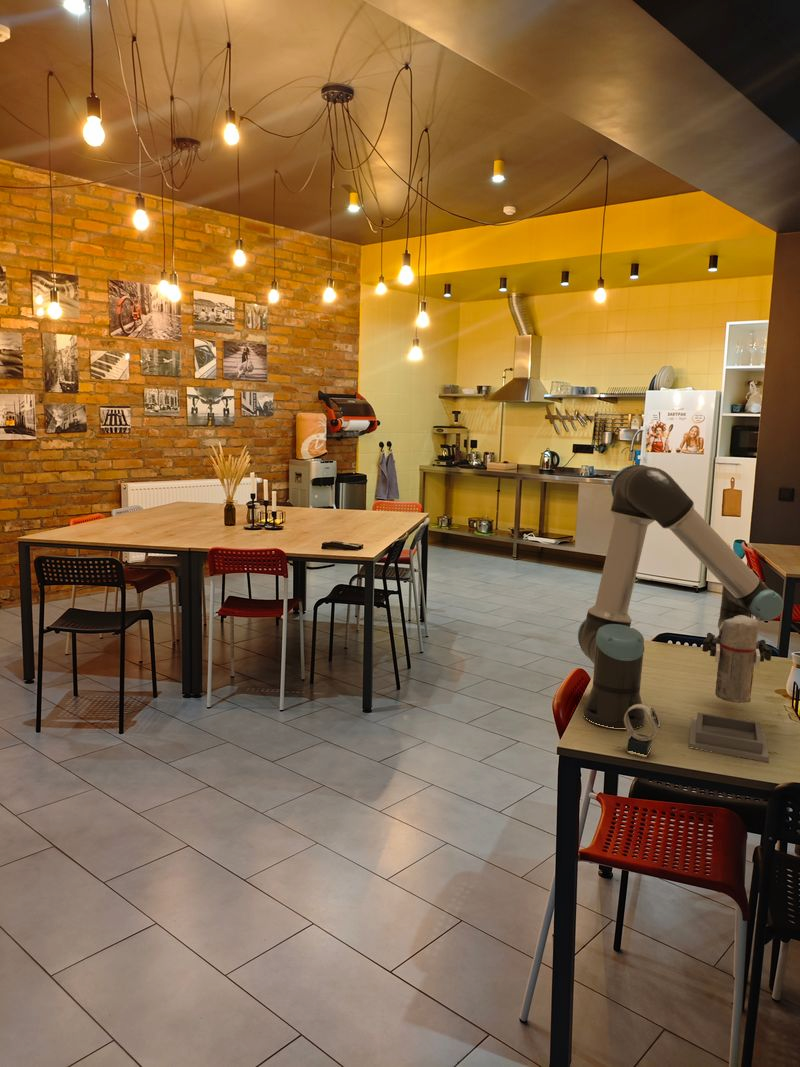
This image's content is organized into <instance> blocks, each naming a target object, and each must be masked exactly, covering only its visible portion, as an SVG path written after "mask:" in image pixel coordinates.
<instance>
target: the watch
mask: <svg viewBox="0 0 800 1067" xmlns="http://www.w3.org/2000/svg"><path fill="white" fill-rule="evenodd" d="M635 708H640V709H641V708H642V709H644V713H645V718H646V719H645V720H646V721H647V724H648V725H649V727H650V728H651V729H652V731H653V734H651V735H645V734H641V733H636V732H635V731H634V730H635V729H633V728H632V726H631V724H630V721H629V717H628V712H629V711H630V710H632V709H635ZM624 724H625V727H626V729H627V730H626V731H627V733H628V735H629V738H628V740H627V749H626V751H627V750H628V751H633V752H636V753H640V754H644V755H647V754H648V752H649V750H650V748H651V749H652V741H653V739H654V738H655V736H656V735H657V734H658V732H659V730H660V729H661V721H660V718H659V715H658V714H657V712H656V710H655V709H654V708H653V707H650V706H649V705H647V704H644V703H642V704H636V705H633V706H631V707H630V708H629V709H628V710H627V712H626V713H625V716H624ZM650 751H651V750H650ZM649 753H650V752H649ZM648 755H649V754H648Z"/></svg>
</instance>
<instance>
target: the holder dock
mask: <svg viewBox="0 0 800 1067" xmlns="http://www.w3.org/2000/svg"><path fill="white" fill-rule="evenodd" d="M689 731H690V733H689V741H688V742H689V744H688V748H689V747H693V748H698V749H703V750H707V751H706V752H708V751H712V752H711V753H713V752H716V753H715V754H719V753H722V754H721V755H724V754H727V755H726V756H730V755H732V756H731V757H736V756H737V758H741V757H743V758H742V759H747V758H748V759H749V760H752V759H754V761H757V762H763V763H769V760H770V757H769V756H770V755H769V749H768V744H767V739H766V737H767V736H766V731H765V730H762V725H761V722H759V721H754V720H748V719H742V718H736V717H730V716H723V715H717V714H712V713H711V714H710V713H705V712H700V711H698V712H697V716H696V719H694V718H691V720H690V730H689Z"/></svg>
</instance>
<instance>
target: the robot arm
mask: <svg viewBox="0 0 800 1067" xmlns="http://www.w3.org/2000/svg"><path fill="white" fill-rule="evenodd" d="M610 486H611V487H610V490H611V495H612V497H613V499H612V502H611V507H610V513H611V515H612V516H613V517H614V518H613V519H614V520H613V524H612V525H613V526H612V530H611V534H610V539H609V542H608V546H607V547H608V548H607V551H606V557H605V560H604V565H603V569H602V574H601V578H600V581H599V587H598V590H597V591H598V592H597V596H596V601H595V604H594V605H593V606H591V607H590V608H588V609H587V613H586V617H585V619H584V620H583V621H582V622H581V624H580V626H579V627H578V631H577V640H578V644H579V647H580V649H581V651H582V653H584V655H585V656H586V657H587V659H589V660H590V661H591V663H593V665H594V666H593V677H592V688H591V689H590V692H589V694H588V696H587V699H586V701H585V704H584V706H583V713H582V714H584V716H585V718H587V719H588V720H590V721H592V722H594V723H597V724H600V725H604V726H608V727H614V728H626V727H625V724H624V716H625V713H626V712H627V710H628V709H629V708H630V707H631V706H633V705H636V704H643V700H642V698H641V692H640V691H641V682H642V671H643V661H644V660H643V659H644V652H645V642H644V641H645V639H644V635H643V634H642V633H641V632H640V631H639V630H638V629H636V628H634V627H631V625H632V618H631V616H630V614H629V613H628V612H629V606H630V603H631V599H632V595H633V590H634V585H635V581H636V577H637V573H638V568H639V565H640V560H641V556H642V551H643V548H644V543H645V538H646V534H647V531H648V530H647V529H648V527H649V526H650V524H652V523H654V522H657V524H659V526H660V527H661V528H662V529H668V530H670V531H671V532H672V533H673V534H674V535H675V537H677V539H678V540H680V541H681V543H683V545H684V546H685V547H686V548H687V549H688V550H689V552H691V553H692V554H693V555H694V556H695V557H696V558H697V559H698V561H700V562H701V564H703V566H704V567H706V568H707V570H708V571H709V572H710V573H711V574H712V575H713V576H714V577H715V578H716V579H717V580H718V581H719V582H720V583H721V584H722V591H721V602H720V603H721V604H720V608H719V609H720V611H719V618H718V621H717V628H718V635H717V636H716V635H715V634H713V633H711V632H707V633H706V637H705V639H704V640H702V642H703V643H702V652H704V653H707V652H708V651H709V656H710V657H715V661H714V662H716V663H718V662H719V657H720V640H721V636H722V626H723V622H724V621H725V620H729V619H732V618H733V617H735V616H738V615H745V616H747V617H750V618H751V615H752V616H753V618H754V617H755V618H756V619H760V620H763V621H771V620H775V619H777V618H778V617H779V616H780V615H781V613H782V612H783V610H784V600H783V598H782V596H781V595H780V594H779V593H777V592H776V591H775V590H773V589H770V588H769V587H768V586H767V585H766V584H765V583H764V582H763V581H762V580H761V579H760V578H759V576H758V575H756V573H755V572H754V571H753V570H752V569H751V568H750V567H749V566H748V565H747V564H746V563H745V561H743V560H742V558H741V557H740V556H739V555H738V554H737V553H736V552H735V551H734V550H733V549H732V548H731V547H730V546H729V544H728V543H726V541H725V540H724V539H723V538H722V537H721V536H720V535H719V533H717V532H716V531H715V529H713V527H712V526H711V525H710V524H709V523H708V522H707V521H706V520H705V519H704V518H703V517H702V516H701V515H700V513H698V511H697V510H696V509H695V502H694V501H693V499H691V497H690V496H689V495H688V494H687V493H686V491H684V490H683V488H682V487H681V486H680V485H679V484H678V483H677V481H675V479H673V477H672V476H671V475H670V474H669V473H667V472H666V471H664V470H663V469H661V468H658V467H653V466H648V465H647V466H646V465H644V464H633V465H627V466H625V467H623V468H621V469H620V470H619V471H618V472H617V473H616V474H615V475H614V477H613V478H612V481H611V485H610ZM772 653H773V650H772V649H771V648H770V646H769V645H768V644H767V643H766V640H765V639H760V640H757V642H756V654H755V663H754V668H758V669H759V668H760V665H761V663H760V662H762V663H763V662H765V660H766V661H772ZM584 716H583V717H584ZM628 717H629V721H630V724H631V726H632V728H637V727H640V726H642V725H643V724H644V725H645V720H646V719H645V718H646V714H645V712H644V709H642V708H641V709H640V708H635V709H632V710H630V711H629V712H628ZM585 718H584V719H585ZM644 725H643V726H644ZM643 726H642V727H643ZM640 728H641V727H640ZM637 729H638V728H637Z"/></svg>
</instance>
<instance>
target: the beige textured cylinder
mask: <svg viewBox="0 0 800 1067" xmlns="http://www.w3.org/2000/svg"><path fill="white" fill-rule="evenodd" d="M759 628H760V622H759V620H758V619H757V618H756V619H755V618H754V617H751V616H750V617H747V616H745V615H738V616H735V617H733V618H732V619H729V620H725V621H724V622H723V626H722V636H721V640H720V657H719V662H717V673H716V681H715V693H714V694H715V696H716V698H719V699H721V700H722V701H726V702H731V703H738V704H745V703H750V702H751V700H752V699H751V696H752V688H753V679H754V671H755V654H756V642H758V634H759Z"/></svg>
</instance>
